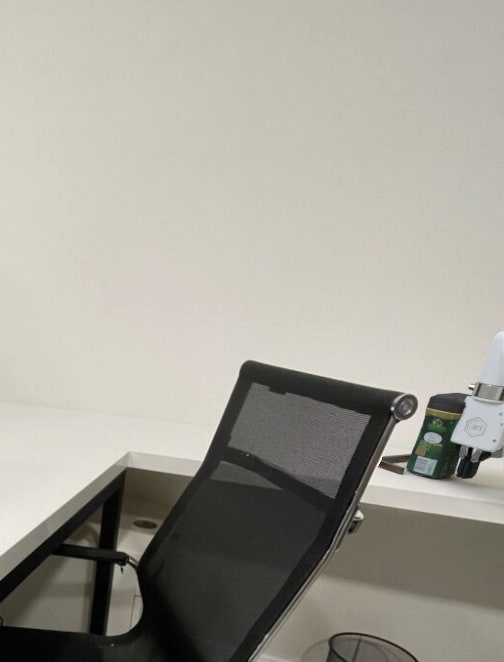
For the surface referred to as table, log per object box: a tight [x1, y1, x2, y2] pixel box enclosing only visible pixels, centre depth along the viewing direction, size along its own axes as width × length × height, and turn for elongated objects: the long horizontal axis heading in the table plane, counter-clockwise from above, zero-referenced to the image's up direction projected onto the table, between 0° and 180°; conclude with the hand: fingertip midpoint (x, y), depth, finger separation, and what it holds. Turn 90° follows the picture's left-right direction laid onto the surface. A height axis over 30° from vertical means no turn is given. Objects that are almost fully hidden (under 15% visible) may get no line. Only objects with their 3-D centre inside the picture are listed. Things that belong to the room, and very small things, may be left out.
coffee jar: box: [405, 392, 473, 479], centre depth 123 cm, size 10×8×19 cm
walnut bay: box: [378, 453, 411, 475], centre depth 131 cm, size 8×16×2 cm, turn 111°
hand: (464, 477), depth 120 cm, fingers closed
